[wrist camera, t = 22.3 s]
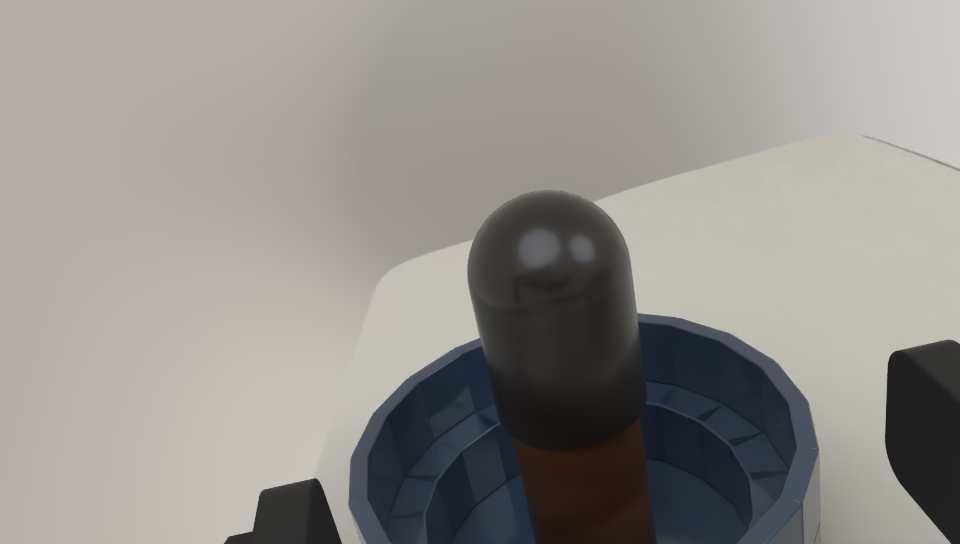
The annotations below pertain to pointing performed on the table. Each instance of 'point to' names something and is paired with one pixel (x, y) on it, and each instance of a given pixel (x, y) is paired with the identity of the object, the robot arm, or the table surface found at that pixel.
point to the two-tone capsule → (566, 365)
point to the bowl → (666, 436)
